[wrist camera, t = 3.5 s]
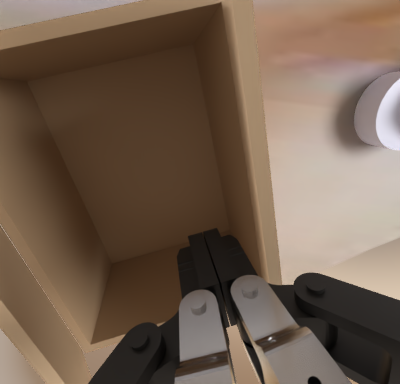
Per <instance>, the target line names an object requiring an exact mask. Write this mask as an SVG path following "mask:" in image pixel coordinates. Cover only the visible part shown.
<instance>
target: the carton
mask: <svg viewBox="0 0 400 384" xmlns="http://www.w3.org/2000/svg"><path fill="white" fill-rule="evenodd" d="M0 224H1V225H2V227H3V229H4V230H5V232H6V233H7V235H8V236H9V238H10V239H11V241H12V242H13V244H14V245H15V247H16V248H17V250H18V251H19V253H20V255H21V256H22V258H23V259H24V261H25V262H26V264H27V265H28V267H29V268H30V270H31V271H32V273H33V274H34V276H35V277H36V279H37V280H38V282H39V283H40V285H41V287H42V288H43V290H44V291H45V293H46V294H47V296H48V297H49V299H50V300H51V302H52V303H53V305H54V306H55V308H56V309H57V311H58V313H59V314H60V316H61V317H62V319H63V320H64V322H65V323H66V325H67V326H68V328H69V329H70V331H71V332H72V334H73V336H74V337H75V338H76V340H77V342H78V343H79V345H80V346H81V348H82V349H83V351H84V352H85V353H88V352H91V351H94V350H97V349H100V348H104V347H107V346H110V345H113V344H116V343H119V342H120V341H121V340H122V339H123V337H124V336H125V335H126V334H127V332H128V331H129V330H131V329H132V328H133V327H135V326H136V325H138V324H141V323H145V322H151V323H154V324H156V325H157V326H158V327H159V326H160V325H162V324H163V323H165V322H166V321H168V320H169V319H171V318H172V317H173V316H174V315H175V314H176V313H177V312H178V310H179V306H180V303H181V301H182V295H181V287H180V279H179V271H178V264H177V255H178V252H179V250H180V249H181V248H185V247H188V246H190V244H189V239H188V236H190V235H193V234H197V233H200V232H202V234H203V231H207V230H210V229H214V228H217V229H218V231H219V233H220V235H221V237H223V236H226V235H232V236H233V237H235V238H236V239H237V240H238V241H239V243H240V245H241V247H242V248H243V250H244V252H245V254H246V255H247V257H248V259H249V261H250V262H251V264H252V266H253V267H254V269H255V271H256V273H257V274H258V276H259V277H261V278H263V279H264V280H265V281H266V282H267V283H269V275H268V268H267V260H266V253H265V245H264V238H263V230H262V223H261V215H260V208H259V200H258V192H257V185H256V177H255V170H254V162H253V155H252V147H251V140H250V132H249V125H248V117H247V110H246V102H245V94H244V87H243V79H242V72H241V64H240V57H239V49H238V42H237V34H236V27H235V19H234V12H233V4H232V0H143V1H139V2H134V3H129V4H124V5H119V6H115V7H110V8H105V9H100V10H96V11H91V12H86V13H81V14H77V15H72V16H67V17H62V18H57V19H53V20H48V21H43V22H38V23H34V24H29V25H24V26H19V27H15V28H10V29H5V30H0ZM203 237H204V235H203ZM204 240H205V239H204ZM225 309H226V308H225Z"/></svg>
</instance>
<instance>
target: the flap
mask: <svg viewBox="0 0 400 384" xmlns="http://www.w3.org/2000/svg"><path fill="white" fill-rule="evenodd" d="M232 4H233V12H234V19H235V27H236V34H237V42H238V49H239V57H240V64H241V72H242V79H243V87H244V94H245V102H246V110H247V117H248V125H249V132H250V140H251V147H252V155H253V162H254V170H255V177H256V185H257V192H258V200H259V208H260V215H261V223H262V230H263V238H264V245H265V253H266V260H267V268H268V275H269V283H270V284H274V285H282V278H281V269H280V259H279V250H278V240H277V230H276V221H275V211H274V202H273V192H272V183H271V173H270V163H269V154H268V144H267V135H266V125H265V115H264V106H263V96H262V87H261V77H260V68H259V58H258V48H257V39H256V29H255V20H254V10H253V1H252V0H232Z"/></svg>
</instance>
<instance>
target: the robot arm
mask: <svg viewBox="0 0 400 384" xmlns="http://www.w3.org/2000/svg"><path fill="white" fill-rule="evenodd" d="M203 235H204V237H203ZM188 239H189V244H190V246H188V247H185V248H181V249H180V250H179V252H178V255H177V264H178V271H179V279H180V287H181V295H182V301H181V303H180V306H179V310H178V312H177V313H176V314H175V315H174V316H173V317H172V318H171V319H169V320H168V321H166V322H165V323H163V324H162V325H160V326H159V327H158V326H157V325H156V324H154V323H151V322H145V323H141V324H138V325H136V326H135V327H133V328H132V329H131V330H129V331H128V332H127V334H126V335H125V336H124V337H123V339H122V340H121V341H120V342H119V344H118V345H117V346H116V348H115V349H114V350H113V352H112V353H111V354H110V355H109V357H108V358H107V359H106V361H105V362H104V364H103V365H102V366H101V367H100V368H99V370H98V371H97V372H96V374H95V375H94V376H93V378H92V379H91V380H90V381H89V383H88V384H237V383H236V377H235V372H234V368H233V363H232V359H231V353H230V349H229V338H228V334H227V330H226V328H227V327H229V322H228V317H229V320H230V324H231V326H233V325H236V324H237V327H238V329H239V332H240V336H241V340H242V344H243V347H244V349H245V351H246V354H247V356H248V358H249V360H250V363H251V365H252V367H253V370H254V372H255V374H256V377H257V379H258V381H259V383H260V384H352V383H351V382H350V381H349V380H348V378H350V379H352V380H353V381H355V382H357V383H359V384H400V300H397V299H394V298H391V297H388V296H385V295H382V294H379V293H376V292H373V291H370V290H367V289H364V288H361V287H358V286H355V285H352V284H349V283H346V282H343V281H340V280H337V279H334V278H331V277H328V276H325V275H322V274H319V273H305V274H302V275H300V276H298V277H297V278H296V280H295V281H294V285H274V284H270V283H267V282H266V281H265V280H264V279H263V278H261V277H259V276H258V274H257V273H256V271H255V269H254V267H253V266H252V264H251V262H250V261H249V259H248V257H247V255H246V254H245V252H244V250H243V248H242V247H241V245H240V243H239V241H238V240H237V239H236V238H235V237H233V236H232V235H226V236H223V237H221V235H220V233H219V231H218V229H217V228H214V229H210V230H207V231H203V234H202V232H200V233H197V234H193V235H190V236H188ZM204 239H205V240H204ZM225 308H226V309H225ZM226 312H227V313H226ZM227 314H228V317H227ZM347 377H348V378H347Z"/></svg>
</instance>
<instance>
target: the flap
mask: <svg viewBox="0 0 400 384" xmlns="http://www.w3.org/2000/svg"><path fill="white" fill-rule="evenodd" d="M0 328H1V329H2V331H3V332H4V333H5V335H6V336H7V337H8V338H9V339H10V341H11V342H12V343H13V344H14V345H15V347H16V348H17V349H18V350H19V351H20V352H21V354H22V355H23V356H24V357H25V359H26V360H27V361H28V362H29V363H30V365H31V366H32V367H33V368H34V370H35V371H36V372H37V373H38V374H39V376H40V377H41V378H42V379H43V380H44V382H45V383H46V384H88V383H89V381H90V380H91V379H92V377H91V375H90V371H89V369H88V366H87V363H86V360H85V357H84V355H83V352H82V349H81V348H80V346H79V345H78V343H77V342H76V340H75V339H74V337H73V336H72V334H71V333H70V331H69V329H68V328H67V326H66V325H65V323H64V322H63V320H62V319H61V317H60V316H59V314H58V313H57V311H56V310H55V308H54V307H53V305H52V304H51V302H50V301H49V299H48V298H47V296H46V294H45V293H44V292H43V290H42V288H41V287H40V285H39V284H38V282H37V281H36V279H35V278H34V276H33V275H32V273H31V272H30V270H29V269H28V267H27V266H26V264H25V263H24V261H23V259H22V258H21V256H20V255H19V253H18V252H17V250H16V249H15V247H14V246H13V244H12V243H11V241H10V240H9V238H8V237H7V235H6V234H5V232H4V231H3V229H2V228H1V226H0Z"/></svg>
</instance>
